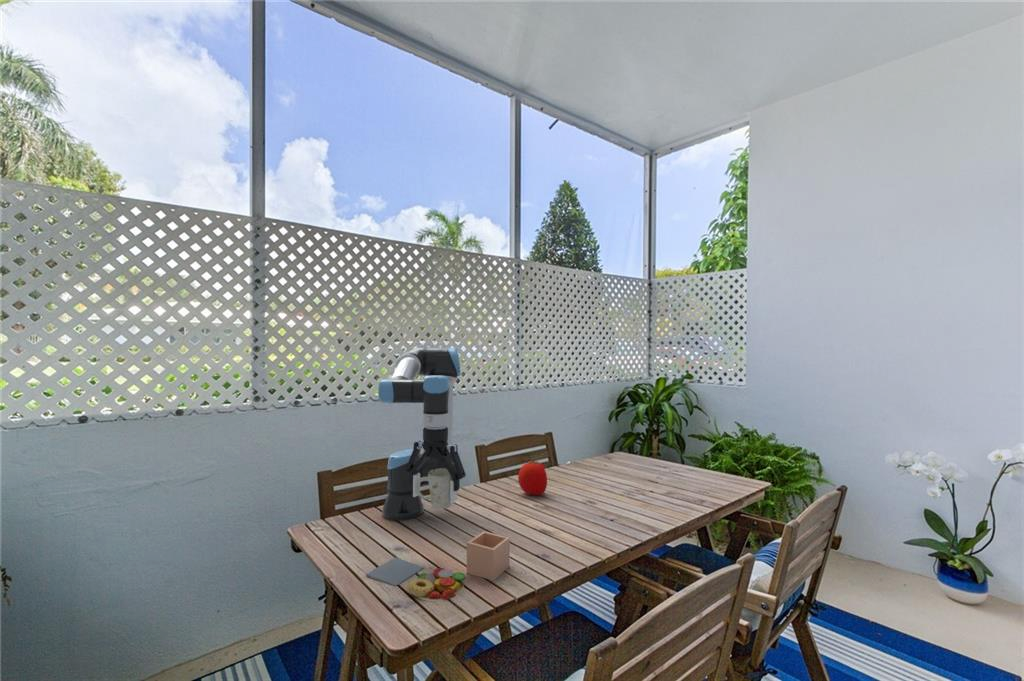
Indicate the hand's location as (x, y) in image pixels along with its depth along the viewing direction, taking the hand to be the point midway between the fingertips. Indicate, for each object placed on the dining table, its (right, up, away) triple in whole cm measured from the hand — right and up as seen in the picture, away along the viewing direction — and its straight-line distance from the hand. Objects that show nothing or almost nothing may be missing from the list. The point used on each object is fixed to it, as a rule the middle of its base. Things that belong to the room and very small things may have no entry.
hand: (434, 498), depth 133 cm
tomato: (+32, -18, +53) cm, 64 cm away
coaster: (-9, -16, -11) cm, 22 cm away
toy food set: (+4, -17, -20) cm, 26 cm away
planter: (+17, -17, -11) cm, 26 cm away
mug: (0, -2, 0) cm, 2 cm away
